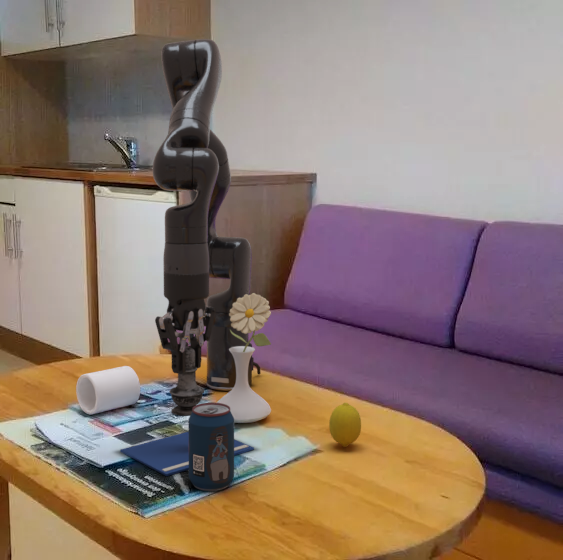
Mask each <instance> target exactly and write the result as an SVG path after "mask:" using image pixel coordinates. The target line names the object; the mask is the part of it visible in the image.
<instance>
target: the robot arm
mask: <svg viewBox="0 0 563 560" xmlns="http://www.w3.org/2000/svg"><path fill="white" fill-rule="evenodd" d="M160 61H161V69H162V73H163V77H164V82H165V85H166V89H167V93H168V98H169V101H170V106H171V114H170V116H169V125H168V132H167V135H166V137H165V139H164V140H163V141H162V143H161V145H160V146H159V148H158V149H157V152H156V153H155V156H154V158H153V162H152V169H151V171H152V177H153V180H154V182H155V184H156V185H157V186H158V187H159V188H160V189H162V190H164V191H168V192H169V191H170V192H188V195H189V199H190V202H187V203H183V204H179V205H178V204H177V205H174V206H170V207H168V208H166V210H165V213H164V248H163V259H162V260H163V297H164V298H165V299H167V301H168V305H167V309H166V313H165V314H164V315H163V316H156V317H155V319H154V320H155V321H154V323H155V326H156V329H157V333H158V337H159V340H160V344H161V348H162V349H163V350H168V351H170V353H171V371H172V372H173V373H174V374H177V375H178V374H183V373H185V352H184V351H185V346H186V342H187V343H188V344H189V345H188V347H190V348H192V349H194V351H195V367H197V370H198V369H200V368H201V367H202V347H203V346H204V344H205V342H206V381H205V382H206V383H205V384H206V387H207V388H208V389H211V390H215V391H220V392H221V391H222V392H230V391H231V390H232V389H233V388H234V386H235V383H236V365H235V360H234V357H233V355H232V353H231V352H230V351H229V349H230V348H231V347H236V346H246V344H247V343H248V341H249V333H247V334H244V333H242V332H241V330H240V331H237V330H236V329H234V328H233V327H232V326H231V323H232V321H230V318H231V317H230V316H229V313H230V309H232V307H233V303H236V301H237V299H238V298H242V297H244V295H246V294H247V295H248V296H249V295H251V275H252V264H253V263H252V261H253V259H252V257H253V256H252V255H253V254H252V247H251V244H250V241H249V240H248V239H247V238H246V237H241V236H240V237H237V236H219V235H218V233H217V229H216V220H217V216H218V213H219V210H220V208H221V206H222V204H223V202H224V200H225V198H226V196H227V194H228V192H229V190H230V187H231V182H232V174H231V168H230V163H229V162H230V161H229V155H228V151H227V149H226V147H225V145H224V144H223V142H222V141H221V140H220V138H219V137H218V136H217V135H216V134H215V133H214V131H213V130H212V129H211V118H212V114H213V109H214V105H215V103H216V101H217V98H218V94H219V90H220V87H221V83H222V77H223V64H222V58H221V52H220V49H219V46H218V45H217V43H216V41H214V40H213V39H210V38H200V39H199V38H198V39H189V40H182V41H181V40H180V41H173V42H168V43H165V44H164V45H163V46H162V47H161V52H160ZM210 279H219V280H229V286H228V288H227V289H225V290H224V291H221V292H218V293H214V294H212V295H210ZM205 300H206V302H205ZM230 330H231V331H232V332H233V333H234V334H236V335H238V336H240V337H242V338H243V339H244V340H245V341H246V342H247V343H246V342H244V341H242V340H241V339H239V338H237V337H235V336H234V335H233V334H232V333H231V331H230ZM178 331H179V332H178ZM178 338H179V342H178ZM248 347H253V343H251V342H250V343H249V344H248ZM254 360H255V359H254V357H253V354H252V355H251V358H250V361H249V366H248V384H249V386H250V387H251V386H252V385H253V371H254V367H255V368H256V374H257V375H261V367H260V365H259V364H258V363H257V362H255V361H254Z"/></svg>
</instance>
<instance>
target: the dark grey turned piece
mask: <svg viewBox="0 0 563 560" xmlns="http://www.w3.org/2000/svg"><path fill="white" fill-rule="evenodd" d="M188 346H190V345H189V343H188V341H186V346H185V351H184V352H185V373H183V374H177V383H176V386H175V387H172V388H170V389H169V391H168V392H169V394H170V396H171V399H172V402H173V403H174V404H175V405H176V406H174V407H173V408H172V409H171V410H170V411H171V413H172V414H173V415H175V416H181V417H190V415H191V413H192V412H193V411H192V409H193V407H194V406H196V405H198V404H200V402H201V401H202V399H203V394H204V393H205V389H204V388H203V387H201V386H198V384H197V379H196V378H197V376H196V375H197V374H196V373H197V372H196V371H197V370H198V369H197V367H195V351H194V349H192V348H190V347H188Z"/></svg>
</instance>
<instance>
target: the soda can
mask: <svg viewBox="0 0 563 560" xmlns="http://www.w3.org/2000/svg"><path fill="white" fill-rule="evenodd" d="M192 411H193V412H192V413H191V415H190V416H188V432H189V470H188V479H189V480H190V482H191V484H192V486H193V487H194V488H196V489H197V490H200V491H205V492H215V491H221V490H224V489H226V488H228V487H229V486H230V484H231V483H232V481H233V479H234V478H235V456H234V439H235V423H234V417H233V415H232V413H231V412H230V407H229V406H228V405H226V404H222V403H217V402H204V403H198V404H197V405H196V406H194V407H193V409H192Z"/></svg>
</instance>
